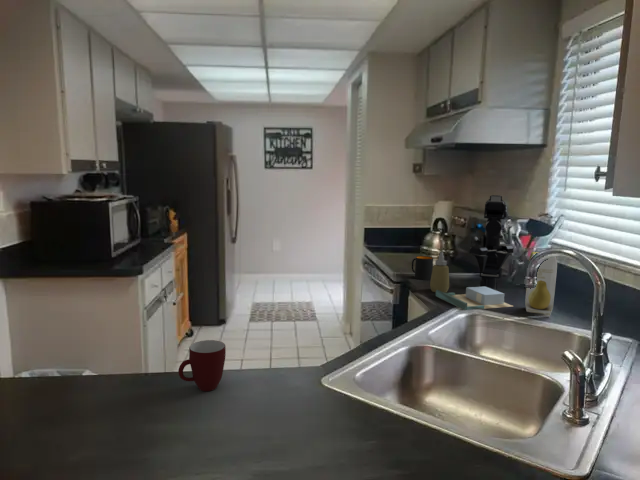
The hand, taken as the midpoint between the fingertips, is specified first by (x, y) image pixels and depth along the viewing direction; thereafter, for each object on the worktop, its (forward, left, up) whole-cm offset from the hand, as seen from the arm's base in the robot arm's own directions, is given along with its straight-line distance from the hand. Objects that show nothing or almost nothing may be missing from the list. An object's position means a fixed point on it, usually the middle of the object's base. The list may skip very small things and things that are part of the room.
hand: (490, 270), depth 189 cm
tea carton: (+4, +4, -11) cm, 13 cm away
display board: (+9, +4, -12) cm, 16 cm away
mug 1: (+116, +52, -13) cm, 128 cm away
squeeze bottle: (+14, -13, -13) cm, 23 cm away
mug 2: (+6, -43, -13) cm, 46 cm away
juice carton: (-7, +20, -13) cm, 25 cm away
